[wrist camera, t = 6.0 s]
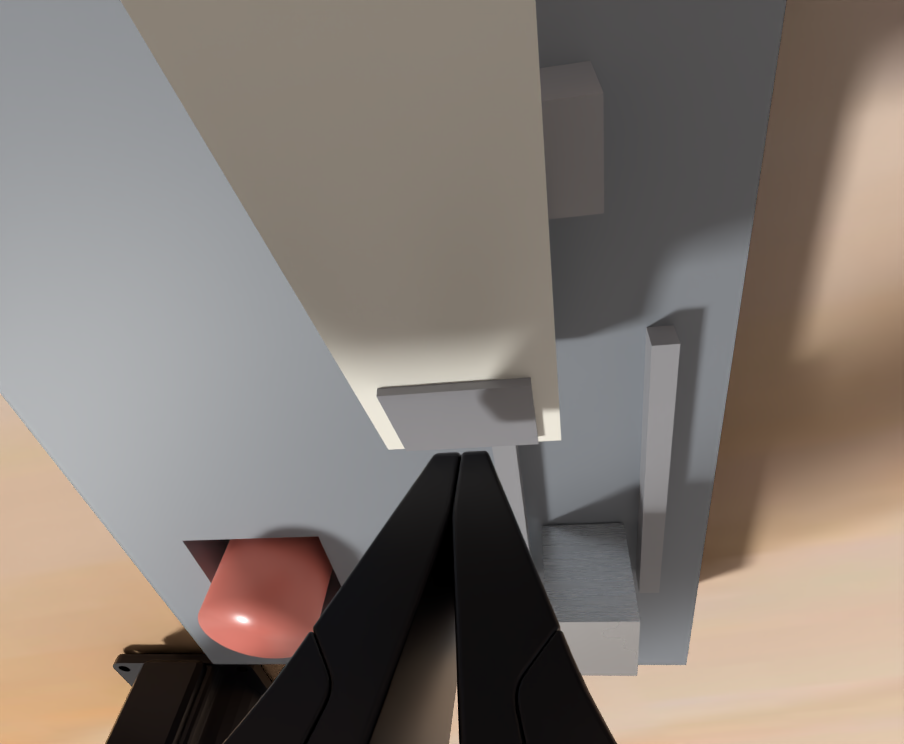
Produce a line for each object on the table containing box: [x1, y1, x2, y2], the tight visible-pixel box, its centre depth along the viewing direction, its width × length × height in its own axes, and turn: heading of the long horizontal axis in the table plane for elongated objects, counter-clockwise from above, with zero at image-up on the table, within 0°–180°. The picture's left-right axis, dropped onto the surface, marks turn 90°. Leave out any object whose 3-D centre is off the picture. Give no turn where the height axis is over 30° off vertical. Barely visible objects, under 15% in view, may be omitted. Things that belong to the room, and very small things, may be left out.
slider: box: [542, 523, 640, 676], centre depth 15 cm, size 2×2×3 cm
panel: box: [0, 0, 787, 665], centre depth 14 cm, size 22×16×4 cm
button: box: [198, 536, 333, 658], centre depth 19 cm, size 3×3×4 cm
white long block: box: [120, 0, 561, 451], centre depth 8 cm, size 10×3×2 cm, turn 9°
